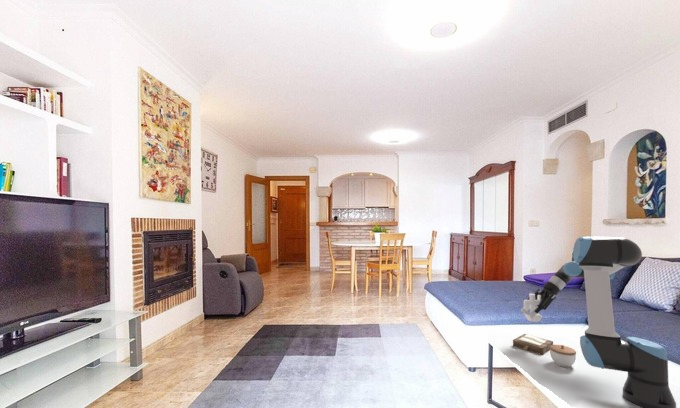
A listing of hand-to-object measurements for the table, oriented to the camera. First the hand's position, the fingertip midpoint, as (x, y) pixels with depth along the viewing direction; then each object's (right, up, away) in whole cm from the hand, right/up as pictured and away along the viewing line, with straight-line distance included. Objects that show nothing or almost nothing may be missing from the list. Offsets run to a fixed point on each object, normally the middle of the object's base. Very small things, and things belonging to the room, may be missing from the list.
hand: (526, 314), depth 181 cm
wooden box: (+2, -18, -2) cm, 18 cm away
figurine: (+3, -4, 0) cm, 5 cm away
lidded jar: (+4, -17, -23) cm, 29 cm away
